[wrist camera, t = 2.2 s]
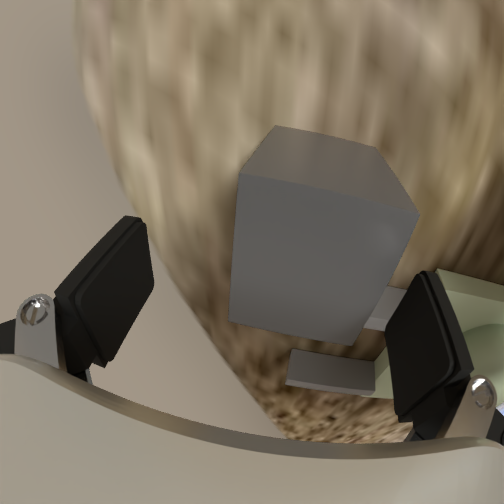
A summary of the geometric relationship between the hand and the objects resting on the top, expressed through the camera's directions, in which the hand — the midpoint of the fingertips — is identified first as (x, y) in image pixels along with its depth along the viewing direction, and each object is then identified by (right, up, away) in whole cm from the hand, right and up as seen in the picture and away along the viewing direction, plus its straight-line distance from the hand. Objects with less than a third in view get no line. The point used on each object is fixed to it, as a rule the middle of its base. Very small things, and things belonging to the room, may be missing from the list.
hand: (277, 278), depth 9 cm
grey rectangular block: (+2, +4, +5) cm, 7 cm away
